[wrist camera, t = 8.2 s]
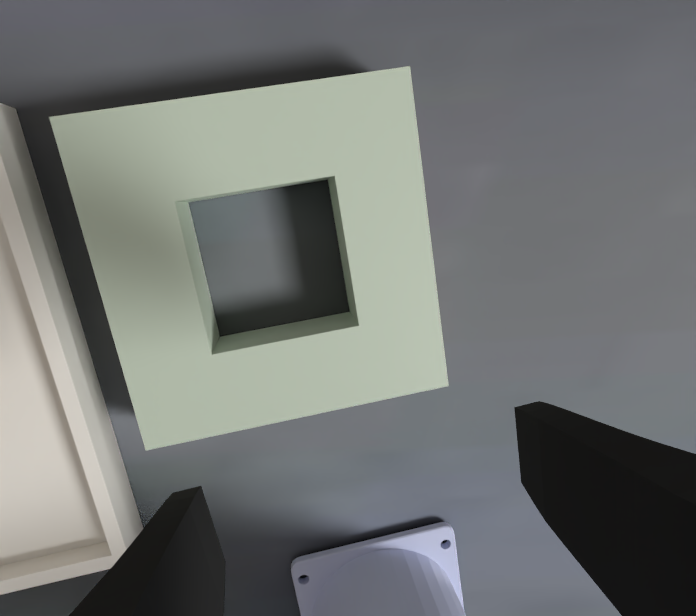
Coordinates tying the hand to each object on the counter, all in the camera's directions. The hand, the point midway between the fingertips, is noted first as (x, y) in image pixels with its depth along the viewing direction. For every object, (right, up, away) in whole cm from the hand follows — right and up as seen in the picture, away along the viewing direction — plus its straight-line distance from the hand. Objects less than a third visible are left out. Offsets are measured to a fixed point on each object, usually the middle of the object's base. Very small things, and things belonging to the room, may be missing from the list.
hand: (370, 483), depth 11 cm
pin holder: (-4, +6, +9) cm, 11 cm away
